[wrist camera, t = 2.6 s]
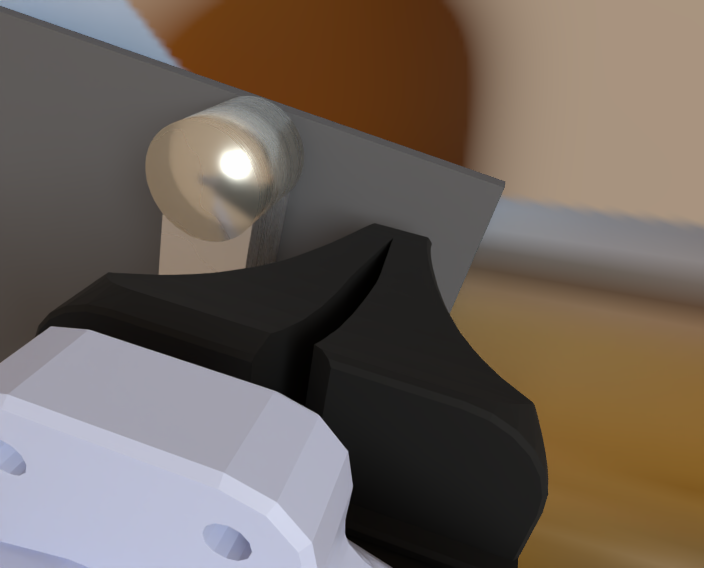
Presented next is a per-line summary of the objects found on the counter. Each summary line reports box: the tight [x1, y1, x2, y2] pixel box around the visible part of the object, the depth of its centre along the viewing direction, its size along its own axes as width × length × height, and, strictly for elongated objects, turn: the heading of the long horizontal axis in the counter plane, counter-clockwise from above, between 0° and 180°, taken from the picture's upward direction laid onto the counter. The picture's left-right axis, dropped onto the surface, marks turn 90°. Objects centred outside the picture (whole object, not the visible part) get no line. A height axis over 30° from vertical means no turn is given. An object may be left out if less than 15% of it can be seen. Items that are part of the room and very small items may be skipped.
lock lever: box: [145, 96, 304, 275], centre depth 15 cm, size 14×4×2 cm, turn 165°
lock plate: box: [0, 6, 505, 363], centre depth 17 cm, size 16×15×1 cm
